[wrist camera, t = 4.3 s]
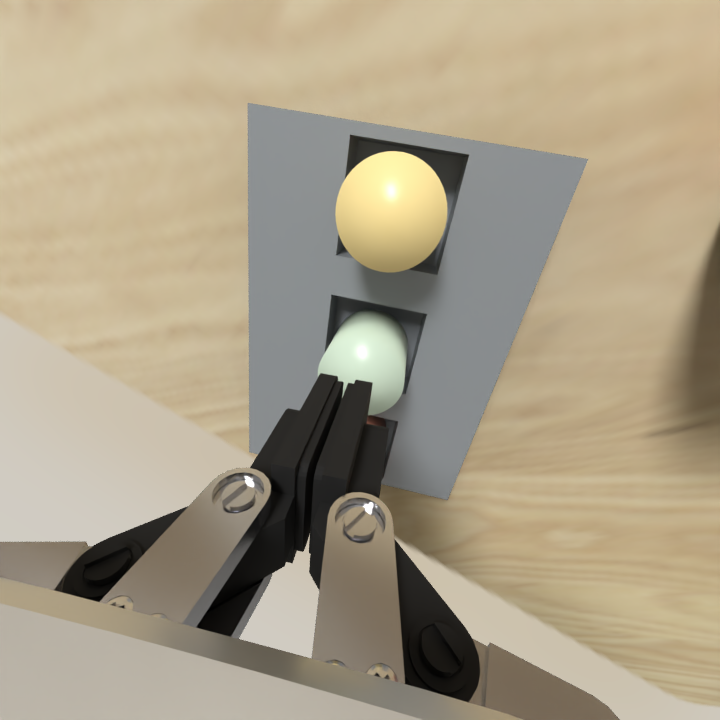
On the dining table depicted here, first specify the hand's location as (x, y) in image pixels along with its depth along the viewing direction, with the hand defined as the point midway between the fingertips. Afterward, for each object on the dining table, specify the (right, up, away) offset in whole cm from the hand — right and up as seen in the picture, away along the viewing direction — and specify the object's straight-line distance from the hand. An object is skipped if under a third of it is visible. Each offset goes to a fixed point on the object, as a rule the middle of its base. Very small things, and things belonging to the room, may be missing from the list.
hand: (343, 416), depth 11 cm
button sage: (+1, +3, +8) cm, 9 cm away
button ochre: (+2, +9, +5) cm, 10 cm away
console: (+2, +4, +10) cm, 11 cm away
